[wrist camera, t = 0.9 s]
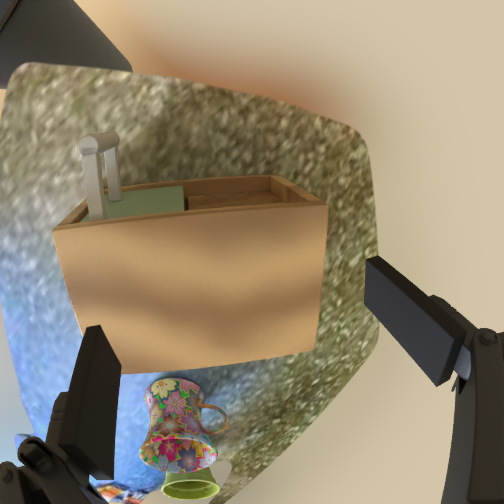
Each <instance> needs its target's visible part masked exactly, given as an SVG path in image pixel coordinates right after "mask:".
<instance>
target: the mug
mask: <svg viewBox="0 0 504 504" xmlns="http://www.w3.org/2000/svg"><path fill="white" fill-rule="evenodd" d="M144 401H145V404H146V405H147V407H148V409H149V413H150V426H149V431H148V434H147V437H146V439H145V441H144V443H143V445H142V446H141V448H140V457H141V459H142V460H143V461H144V462H145V463H146V464H147V465H149V466H151V467H153V468H155V469H158V470H161V471H165V472H172V473H187V472H194V471H198V470H201V469H204V468H206V467H208V466H210V465H211V464H212V463H214V462H215V460H216V459H217V456H218V451H217V449H216V447H215V446H214V445H213V443H212V442H211V441H210V439H209V438H208V436H207V434H209V435H217V434H220V433H222V432H223V431H224V430H225V429H226V428H227V426H228V424H229V418H228V416H227V414H226V413H225V412H224V411H223V410H222V409H220V408H218V407H216V406H214V405H211V404H204V403H205V395H204V392H203V391H202V389H201V388H200V387H199V386H198V385H196V384H195V383H193V382H191V381H188V380H185V379H181V378H166V379H161V380H158V381H156V382H154V383H152V384H151V385H150V386H149V387H148V388H147V389H146V391H145V393H144ZM202 408H211V409H215V410H217V411H219V412H220V413H221V414H222V415H223V416H224V423H223V425H222V426H221V427H220V428H219V429H217V430H214V431H208V430H206V429H205V427H204V425H203V424H202V419H201V411H202ZM206 433H207V434H206Z"/></svg>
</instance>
